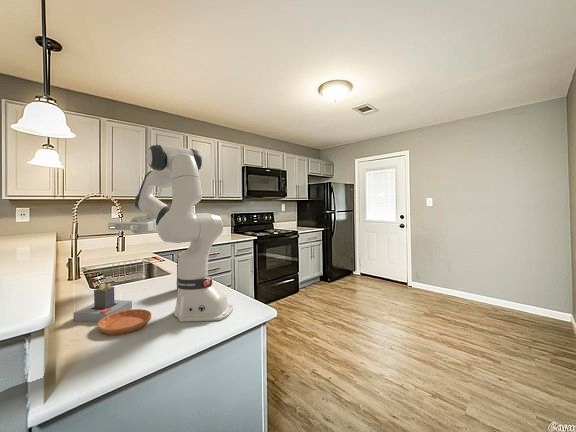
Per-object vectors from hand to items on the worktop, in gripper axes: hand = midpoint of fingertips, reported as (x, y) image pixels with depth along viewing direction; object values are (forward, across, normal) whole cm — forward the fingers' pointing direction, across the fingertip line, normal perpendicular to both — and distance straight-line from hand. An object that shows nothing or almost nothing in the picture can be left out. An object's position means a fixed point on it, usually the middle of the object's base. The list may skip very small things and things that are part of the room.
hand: (119, 227), depth 116 cm
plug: (+17, +7, +32) cm, 37 cm away
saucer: (+25, +22, +32) cm, 47 cm away
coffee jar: (-15, +25, +32) cm, 43 cm away
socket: (+17, +7, +32) cm, 37 cm away
